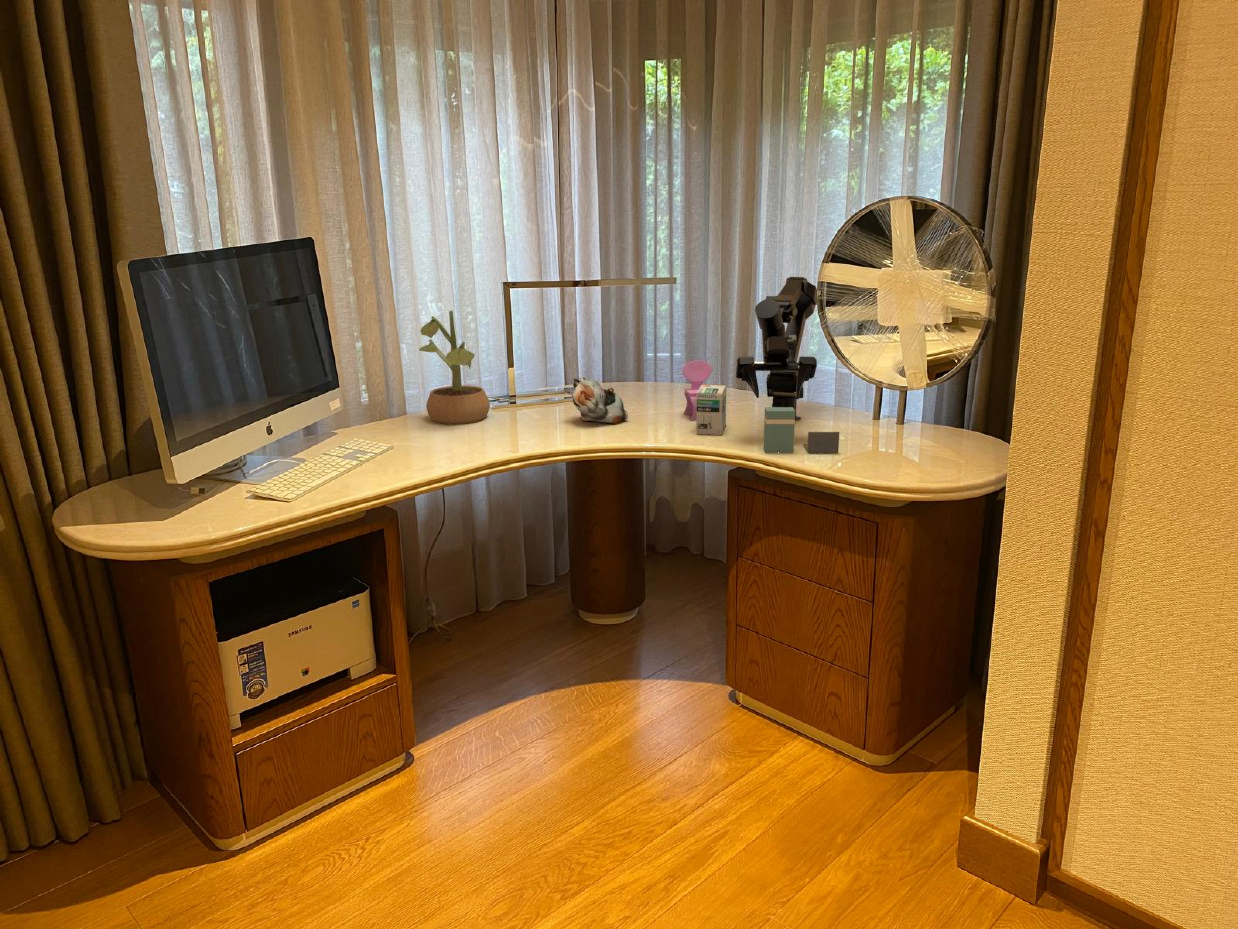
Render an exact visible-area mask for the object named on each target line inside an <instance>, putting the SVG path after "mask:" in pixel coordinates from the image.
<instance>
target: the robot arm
mask: <svg viewBox="0 0 1238 929" xmlns="http://www.w3.org/2000/svg"><path fill="white" fill-rule="evenodd" d="M817 291H818V288H817V286H816V285H814V284H812V283H811V282H809V281H808V279H807V277H804V276H789V277H787V278H786V280H785V284H784V286H783V287H782V289H781V290H780V291H779V293H778V294H777V295H766V297H765V299H763V300H761V301H759V302H758V303H757V304H756V305H755V307H754V308H755V309H754V312H755V315H756V319H757V323H758V325H759V326H758V327H759V329H760V330H761V342H762V359H763V361H755V357H754V356H738V358H736V366H735V378H737V379H739V380H741V382H742V381H743V382H746V384H747V385H748V386H749V387H750V389H751V391H752V393H753V394H754V395H755V397H756V399H759V397H760V390H759V383H758V378H757V372H765V371H766V372H769V373H768V374H767V377H766V395H767V398H772V403H771V407H793V408H794V410H795V421H799V420H801V418H802V417H801V416H797V404H798V403H797V402H798V400H800V399H804V395H805V394H804V383H805V382H808V381H809V380H810V379H813V378H815V375H816V371H817V366H818V361H817V359H816V357H815V356H799V353H800V348H801V344H802V341H803V334H804V329H805V325H806V321H807V319H809V318H810V317H811V316H812V315H813V314H814V312H815V308H816V306H818V304H817ZM785 324H786V326H785Z"/></svg>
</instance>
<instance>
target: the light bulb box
mask: <svg viewBox="0 0 1238 929" xmlns="http://www.w3.org/2000/svg"><path fill="white" fill-rule="evenodd" d="M726 419H727V385H720V384H719V385H715V384H702V385H701V386H700V388H699V390H698V391H697V419H696V421H695V423H696V425H695V426H696V428H695V429H696V430H695V433H696V435H708V434H710V435H713V436H723V433H724V432H725V429H726V427H725V426H727V423H726V422H727V420H726Z"/></svg>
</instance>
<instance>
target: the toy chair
mask: <svg viewBox="0 0 1238 929" xmlns="http://www.w3.org/2000/svg"><path fill="white" fill-rule="evenodd" d="M681 373H682V375H683V376H684V378H686V379H687V381H689V382H691V385H690V386H691V388H684V397H685V399H686V406H685V409H684V411H683V415H691V418H690V420H689V421H690V422H695V421H694V420H696V419H697V391H698V390H699V388H700V386H701V385H704V384H703V383H704V382H705V381H707V380H708V379H710V376H711V375H712V373H713V367H712V365H711V364H710V363H708V362H706V361H704V360H698V359H697V360H691V361H690V362H687V363H685V364H684V365H683V367H682V369H681Z"/></svg>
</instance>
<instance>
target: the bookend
mask: <svg viewBox="0 0 1238 929" xmlns="http://www.w3.org/2000/svg"><path fill="white" fill-rule="evenodd" d="M839 444H840V432H839V431H808V432H807V443H803V444H802V445H803V447H804V449H805V451H806V453H807V454H827V455H828V454H832V453H833V454H834V453H835V454H836V453H838V454H839V448H840V446H839Z"/></svg>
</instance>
